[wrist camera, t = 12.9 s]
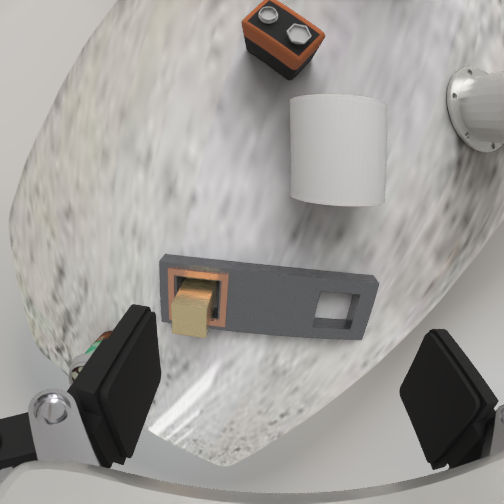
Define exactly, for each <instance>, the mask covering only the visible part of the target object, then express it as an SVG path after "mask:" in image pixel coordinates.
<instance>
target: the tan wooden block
mask: <svg viewBox="0 0 504 504" xmlns="http://www.w3.org/2000/svg"><path fill="white" fill-rule="evenodd" d="M216 286H217V281H214V280H205V279H197V278H188V277H186V278H185V280H184V281H183V283H182V285H181V287H180V289H179V291H178V293H177V294H176V296H175V298H174V300H173V302H172V304H171V311H172V333H174V334H180V335H187V336H194V337H201V338H206V336H207V333H208V329H209V325H210V322H211V318H212V315H213V311H214V307H215V304H216Z"/></svg>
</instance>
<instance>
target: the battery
mask: <svg viewBox="0 0 504 504" xmlns="http://www.w3.org/2000/svg"><path fill="white" fill-rule="evenodd" d="M242 28H243V33H244V38H245V44H246V49H247V50H248V51H249V52H250V53H251V54H253V55H254V56H256V57H257V58H259V59H260V60H261V61H263V62H264V63H266V64H267V65H268V66H270V67H271V68H273V69H274V70H275V71H277V72H278V73H279V74H281V75H282V76H283V77H285V78H286V79H287V80H292V79H293V78H294V77H295V76H296V75H297V74H298V73H299V72H300V71H301V70H302V69H303V68H304V67H305V66H306V65H307V64H308V63H309V62H310V61H311V59H312V58H313V56H314V54H315V53H316V51H317V49H318V48H319V46H320V44H321V43H322V41H323V39H324V38H325V34H324V32H322V31H321V30H320V29H319V28H317V27H316V26H314V25H313V24H312V23H310V22H309V21H308V20H306V19H305V18H303V17H302V16H300V15H299V14H297V13H296V12H294V11H293V10H291V9H290V8H288V7H287V6H285V5H284V4H282V3H281V2H279V1H277V0H264V1H263V2H261V3H260V4H259V5H258V6H257V7H256V8H255V9H254V10H253V11H252V12H251V13H250V14H249V15H248V16H246V17H245V18H244V19H243V20H242Z"/></svg>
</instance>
